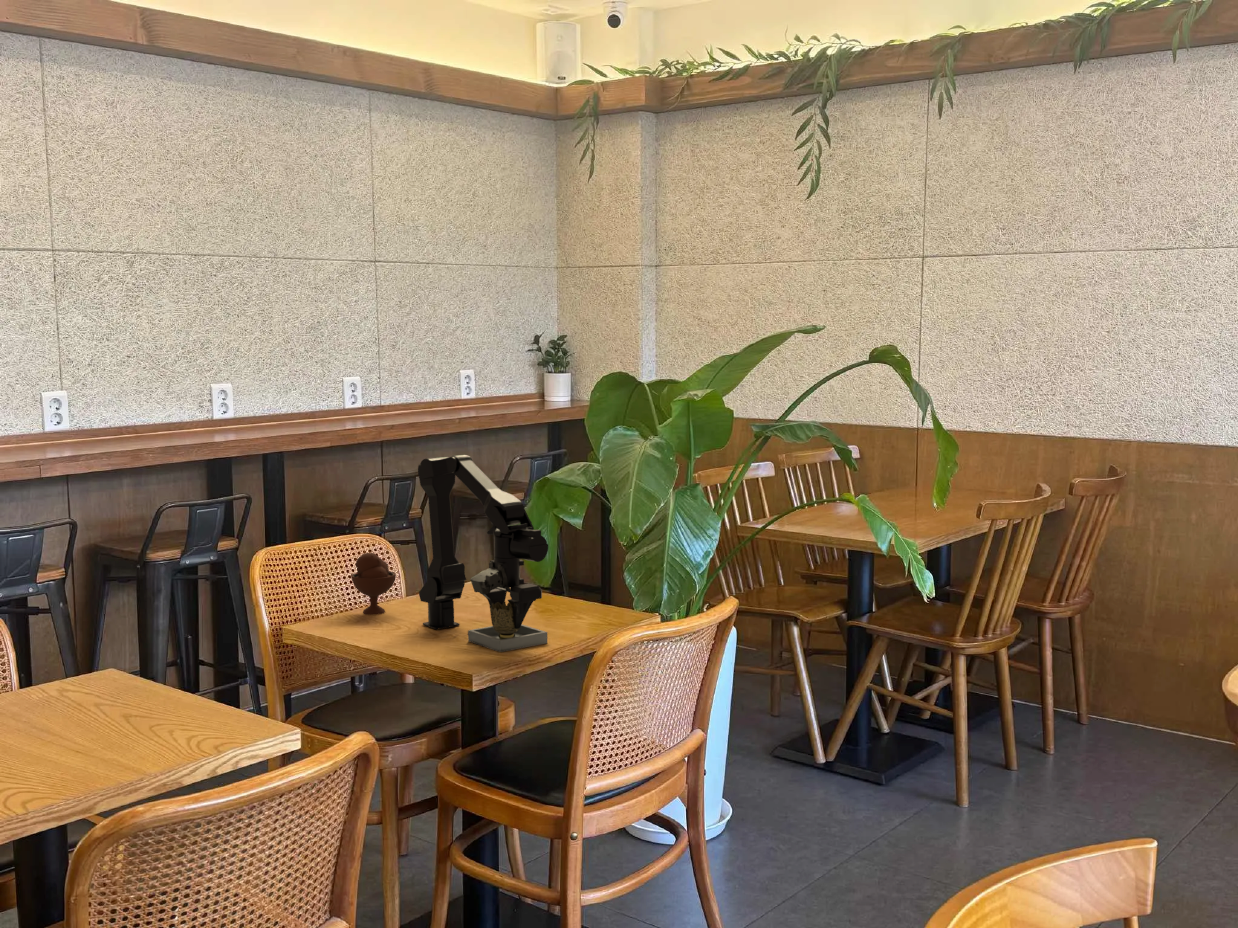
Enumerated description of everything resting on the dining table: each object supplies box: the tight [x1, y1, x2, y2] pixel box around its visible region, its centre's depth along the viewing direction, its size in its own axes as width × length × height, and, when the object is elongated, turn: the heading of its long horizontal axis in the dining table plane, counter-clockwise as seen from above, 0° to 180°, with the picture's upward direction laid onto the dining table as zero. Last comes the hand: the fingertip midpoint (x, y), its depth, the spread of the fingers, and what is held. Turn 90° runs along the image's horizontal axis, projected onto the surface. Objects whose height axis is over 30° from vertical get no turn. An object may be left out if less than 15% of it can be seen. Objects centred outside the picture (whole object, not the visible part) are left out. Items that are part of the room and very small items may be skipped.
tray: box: [467, 623, 548, 653], centre depth 273 cm, size 13×13×2 cm
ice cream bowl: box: [350, 552, 397, 616], centre depth 303 cm, size 11×11×15 cm
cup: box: [489, 601, 519, 640], centre depth 273 cm, size 8×7×8 cm
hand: (507, 625), depth 273 cm, fingers open, 7 cm apart
